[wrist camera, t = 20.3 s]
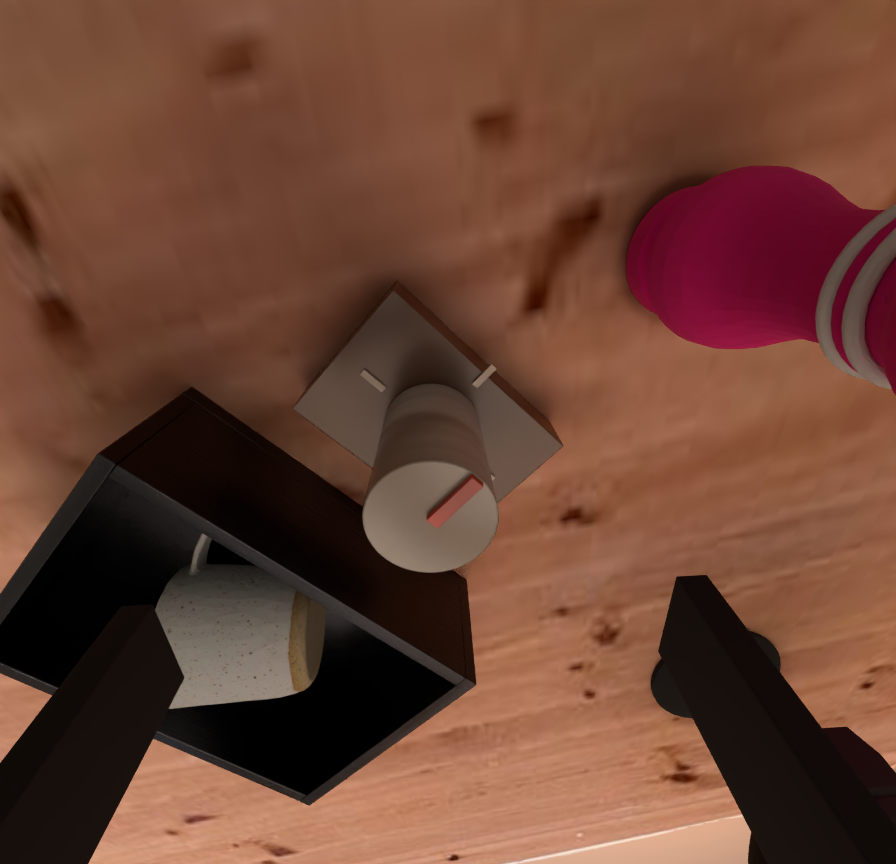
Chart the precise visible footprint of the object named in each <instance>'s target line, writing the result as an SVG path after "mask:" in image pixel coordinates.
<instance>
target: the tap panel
mask: <svg viewBox="0 0 896 864" xmlns="http://www.w3.org/2000/svg"><path fill="white" fill-rule="evenodd" d="M496 369H497V368H496V367H495V366H494V365H493V364H492V363H491V364H490V365H488V364H487V363H485V362H484V361H483V360H482V359H481V358H480V357H479V356H478V355H477V354H476V353H475V352H474V351H473V350H471V349H470V348H469V347H468V346H467V345H466V344H465V343H464V342H463V341H462V340H461V339H460V338H459V337H457V336H456V335H455V334H454V333H453V332H452V331H451V330H450V329H449V328H448V327H447V326H446V325H445V324H443V323H442V322H441V321H440V320H439V319H438V318H437V317H436V316H435V315H434V314H433V313H432V312H431V311H429V310H428V309H427V308H426V307H425V306H424V305H423V304H422V303H421V302H420V301H419V300H418V299H417V298H415V297H414V296H413V295H412V294H411V293H410V292H409V291H408V290H407V289H406V288H405V287H404V286H403V285H401V284H400V283H399V282H398V281H397V282H396V283H395V284H394V286H393V287H392V288H391V289H390V290H389V291H388V293H387V294H386V295H385V296H384V297H383V299H382V300H381V301H380V302H379V303H378V304H377V306H376V307H375V308H374V309H373V310H372V312H371V313H370V314H369V315H368V316H367V317H366V319H365V320H364V321H363V322H362V323H361V325H360V326H359V327H358V328H357V329H356V330H355V332H354V333H353V334H352V335H351V336H350V338H349V339H348V340H347V341H346V342H345V343H344V345H343V346H342V347H341V348H340V349H339V350H338V352H337V353H336V354H335V355H334V356H333V358H332V359H331V360H330V361H329V362H328V363H327V365H326V366H325V367H324V368H323V369H322V371H321V372H320V373H319V374H318V375H317V376H316V378H315V379H314V380H313V381H312V382H311V384H310V385H309V386H308V387H307V388H306V390H305V391H304V392H303V394H302V395H301V396H300V398H299V399H298V401H297V402H296V403H295V405H294V406H293V407H292V409H293V410H294V411H296V412H297V413H298V414H300V415H301V416H302V417H304V418H305V419H306V420H308V421H309V422H310V423H312V424H313V425H314V426H316V427H317V428H318V429H320V430H321V431H322V432H324V433H325V434H327V435H328V436H329V437H331V438H332V439H333V440H335V441H336V442H337V443H339V444H340V445H341V446H343V447H344V448H345V449H347V450H348V451H349V452H351V453H352V454H353V455H355V456H356V457H357V458H359V459H360V460H361V461H363V462H364V463H365V464H367V465H368V466H370V467H371V468H373V464H374V460H375V456H376V452H377V447H378V443H379V439H380V435H381V431H382V426H383V422H384V418H385V414H386V412H387V409H388V408H389V406H390V404H391V403H392V402H393V400H394V399H395V398H396V397H397V396H398V395H400V394H401V393H402V392H404V391H406V390H407V389H409V388H412V387H414V386H417V385H422V384H441V385H445V386H449V387H451V388H453V389H455V390H457V391H459V392H460V393H462V394H463V395H464V396H465V397H466V398H467V399H468V400H469V401H470V402H471V403H472V405H473V406H474V408H475V410H476V412H477V415H478V419H479V423H480V428H481V432H482V437H483V441H484V446H485V450H486V455H487V459H488V464H489V468H490V473H491V477H492V482H493V486H494V491H495V495H496V500H497V503H499V502H500V501H501V500H502V499H503V498H504V497H505V496H507V495H508V494H509V493H510V492H511V491H512V490H513V489H515V488H516V487H517V486H518V485H519V484H520V483H522V482H523V481H524V480H525V479H526V478H527V477H528V476H530V475H531V474H532V473H533V472H534V471H535V470H536V469H538V468H539V467H540V466H541V465H542V464H543V463H544V462H546V461H547V460H548V459H549V458H550V457H551V456H552V455H554V454H555V453H556V452H557V451H558V450H559V449H560V448H562V447H563V444H562V442H561V440H560V439H559V437H558V435H557V433H556V432H555V430H554V428H553V426H552V425H551V423H550V422H549V421H548V420H547V419H546V418H545V417H544V416H543V415H541V414H540V413H539V412H538V411H537V410H536V409H535V408H534V407H533V406H532V405H531V404H530V403H529V402H527V401H526V400H525V399H524V398H523V397H522V396H521V395H520V394H519V393H518V392H517V391H516V390H515V389H513V388H512V387H511V386H510V385H509V384H508V383H507V382H506V381H505V380H504V379H503V378H502V377H501V376H499V375H498V374H497V373H496V372H495V370H496Z"/></svg>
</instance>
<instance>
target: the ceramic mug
mask: <svg viewBox="0 0 896 864" xmlns="http://www.w3.org/2000/svg"><path fill="white" fill-rule="evenodd" d="M211 540H212V539H211V538H209V537H207V536H206V535H204V534H201V536H200V538H199V540H198V543H197V545H196V547H195V550H194V553H193V557H192V563H191V565H188V566H185V567H184V568H182V569H180V570H179V571H178V572H177V573H176V574H175V575H174V576H173V577H172V578H171V580H170V581H169V582H168V583H167V585H166V587H165V589H164V591H163V593H162V595H161V597H160V599H159V601H158V604H157V606H156V609H155V611H156V613H157V616H158V618H159V620H160V622H161V625H162V627H163V629H164V632H165V634H166V636H167V638H168V641H169V643H170V645H171V648H172V650H173V652H174V654H175V657H176V659H177V661H178V664H179V666H180V668H181V670H182V673H183V675H184V677H185V678H184V680H183V682H182V684H181V686H180V688H179V690H178V692H177V693H176V695H175V697H174V699H173V701H172V703H171V705H170V707H169V709H174V708H182V707H191V706H200V705H213V704H224V703H232V702H241V701H251V700H263V699H272V698H280V697H284V696H288V695H292V694H295V693H298V692H301V691H304V690H305V689H307V688H308V687H309V686H310V685H311V683H312V682H313V681H314V679H315V678H316V675H317V673H318V669H319V666H320V662H321V657H322V652H323V644H324V634H325V607H324V606H323V605H321V604H319V603H318V602H316V601H314V600H313V599H311V598H309V597H308V596H306V595H304V594H303V593H301V592H299V591H298V590H296V589H294V588H293V587H291V586H289V585H288V584H286V583H284V582H283V581H281V580H279V579H278V578H276V577H274V576H273V575H271V574H269V573H268V572H266V571H264V570H263V569H261V568H259V567H258V566H252V565H232V564H207V560H206V559H207V554H208V550H209V546H210V543H211Z"/></svg>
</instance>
